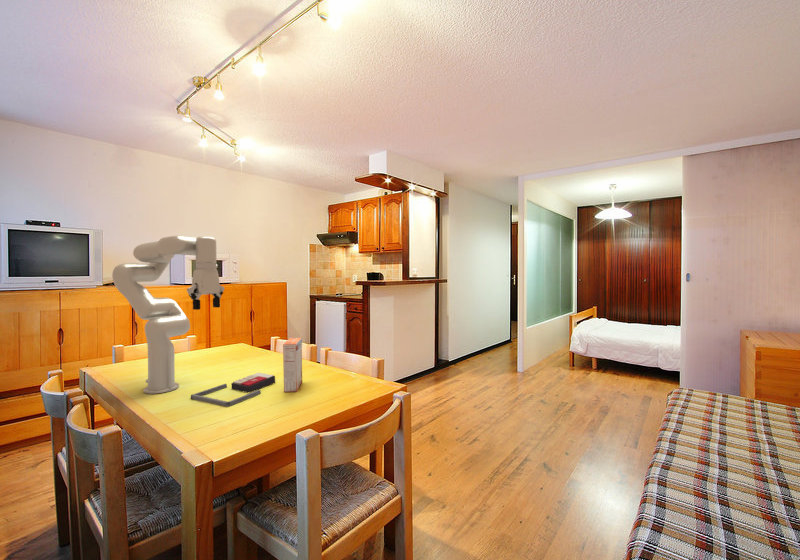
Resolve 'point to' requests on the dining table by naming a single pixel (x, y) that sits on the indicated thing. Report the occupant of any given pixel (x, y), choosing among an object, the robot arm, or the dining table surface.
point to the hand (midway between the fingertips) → (206, 308)
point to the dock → (200, 397)
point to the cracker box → (292, 364)
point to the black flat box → (253, 382)
